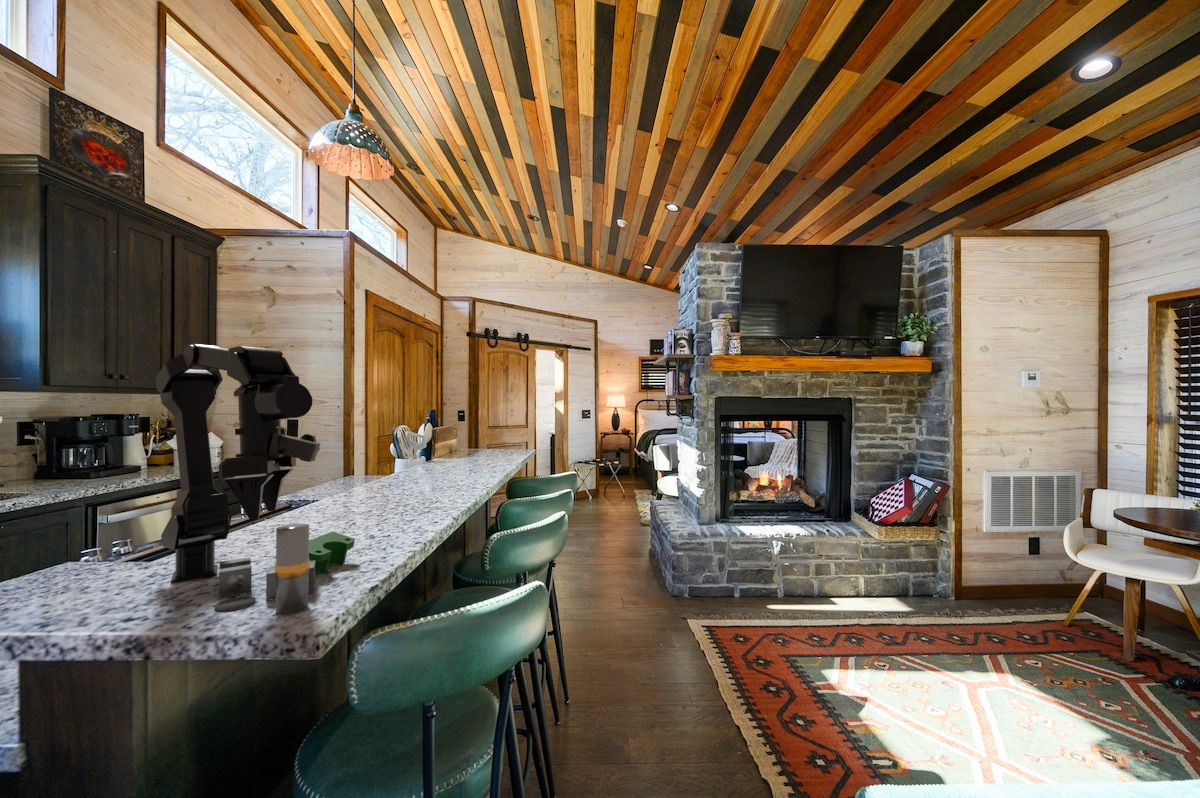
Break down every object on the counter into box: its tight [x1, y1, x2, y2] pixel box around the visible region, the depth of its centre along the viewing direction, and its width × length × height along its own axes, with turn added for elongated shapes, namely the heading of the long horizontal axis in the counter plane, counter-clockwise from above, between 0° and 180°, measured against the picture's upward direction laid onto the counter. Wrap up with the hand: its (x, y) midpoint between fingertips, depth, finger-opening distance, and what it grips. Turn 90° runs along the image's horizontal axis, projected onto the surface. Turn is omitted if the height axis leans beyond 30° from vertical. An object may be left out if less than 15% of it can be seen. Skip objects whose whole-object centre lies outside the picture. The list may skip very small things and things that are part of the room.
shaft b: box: [265, 560, 317, 601], centre depth 84 cm, size 7×4×4 cm, turn 117°
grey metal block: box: [218, 556, 252, 600], centre depth 86 cm, size 7×4×4 cm, turn 37°
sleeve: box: [274, 523, 310, 616], centre depth 78 cm, size 5×5×13 cm
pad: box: [213, 595, 257, 613], centre depth 79 cm, size 5×5×1 cm
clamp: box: [309, 531, 356, 575], centre depth 97 cm, size 12×6×9 cm, turn 166°
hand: (263, 515), depth 82 cm, fingers open, 9 cm apart
